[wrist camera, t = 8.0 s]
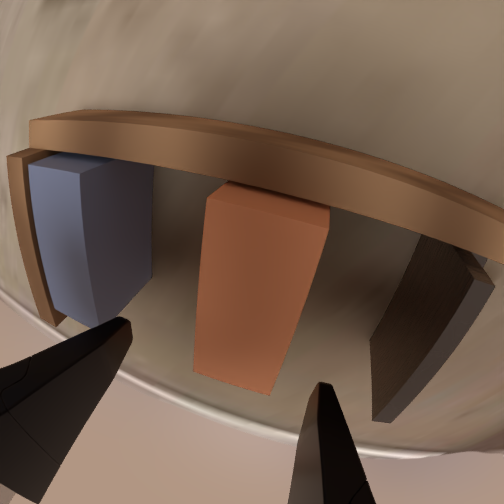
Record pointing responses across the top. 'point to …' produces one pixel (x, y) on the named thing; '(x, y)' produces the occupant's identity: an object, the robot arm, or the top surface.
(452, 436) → the top surface
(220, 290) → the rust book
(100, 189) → the blue-grey rectangular block
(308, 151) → the shelf
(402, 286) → the bookend
